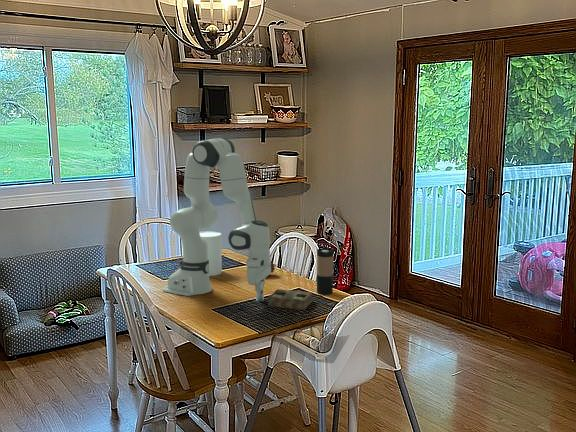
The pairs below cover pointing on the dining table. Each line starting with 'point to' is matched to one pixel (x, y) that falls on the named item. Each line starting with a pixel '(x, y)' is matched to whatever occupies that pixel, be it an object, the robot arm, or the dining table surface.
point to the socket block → (290, 299)
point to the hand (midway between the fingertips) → (259, 289)
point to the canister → (213, 251)
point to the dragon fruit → (272, 267)
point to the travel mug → (325, 271)
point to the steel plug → (260, 292)
